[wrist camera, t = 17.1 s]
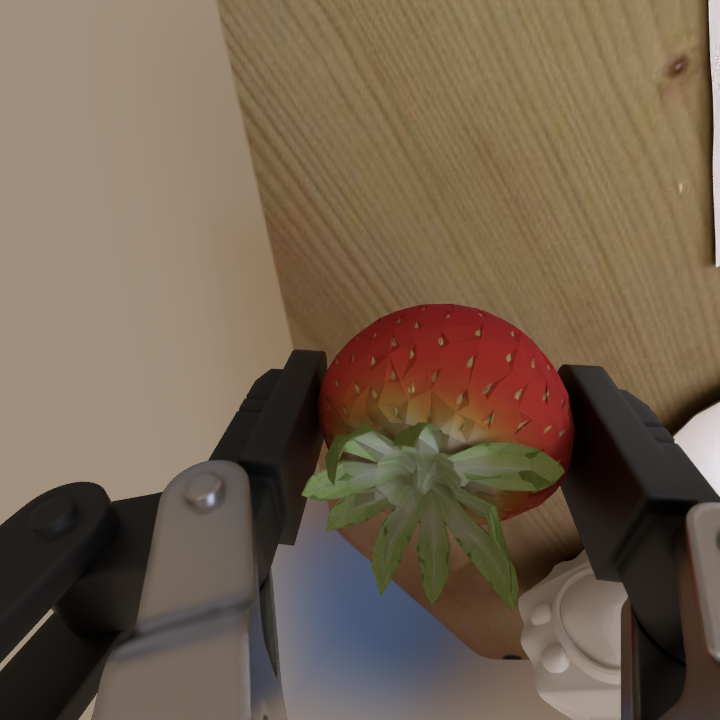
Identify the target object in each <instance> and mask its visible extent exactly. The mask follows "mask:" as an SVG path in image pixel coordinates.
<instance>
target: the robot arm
mask: <svg viewBox="0 0 720 720" xmlns="http://www.w3.org/2000/svg"><path fill="white" fill-rule="evenodd" d="M326 372H327V358H326V353H325V352H324V351H311V350H293V351H292V353H291V355H290V357H289V359H288V361H287V363H286V365H285V367H284V369H270V370H269V371H268V372H266V373H265V374H264V375H262V376H261V377H260V378H258V379H257V380H256V381H255V383H254V384H253V386H252V387H251V389H250V391H249V393H248V394H247V398H246V399H244V401H243V403H242V405H241V406H240V408H239V411H237V413H236V414H235V416H234V418H233V420H232V421H231V423H230V425H229V426H228V428H227V430H226V432H225V433H224V435H223V436H222V438H221V440H220V441H219V443H218V445H217V447H216V448H215V450H214V452H213V453H212V455H211V457H210V458H209V460H208V461H206V462H202V463H199V464H196V465H193V466H191V467H189V468H188V469H186V470H184V471H183V472H181V473H180V474H179V475H177V476H176V477H175V478H174V479H173V480H172V481H171V482H170V483H169V484H168V486H167V487H166V488H165V490H164V491H163V492H160V493H156V494H151V495H146V496H140V497H135V498H129V499H124V500H118V501H113V502H111V500H110V498H109V497H108V495H107V494H106V491H105V490H104V489H103V488H102V487H101V486H100V485H98V484H95V483H90V482H75V483H70V484H66V485H63V486H59V487H57V488H54V489H52V490H49V491H47V492H45V493H44V494H42V495H40V496H38V497H36V498H35V499H33V500H32V501H30V502H29V503H28V504H26V505H25V506H24V507H22V508H21V509H20V510H19V511H18V512H16V513H15V514H14V515H13V516H11V517H10V518H9V519H8V520H6V521H5V522H4V523H3V524H1V526H0V663H1V662H2V661H3V660H4V659H5V657H6V656H7V655H8V654H9V653H10V652H11V651H12V650H13V649H14V648H15V647H16V646H17V644H18V643H19V642H20V641H21V640H22V639H23V638H24V637H25V636H26V635H27V634H28V633H29V631H30V630H31V629H32V628H33V627H34V626H35V625H36V624H37V623H38V622H39V621H40V620H41V619H42V617H43V616H44V615H45V614H46V613H47V612H48V611H49V610H50V609H52V610H53V611H54V613H53V614H52V615H51V616H50V617H49V618H48V620H47V621H46V622H45V623H44V624H43V625H42V626H41V627H40V628H39V629H38V631H37V632H36V633H35V634H34V635H33V636H32V637H31V638H30V640H28V642H27V643H26V644H25V645H24V646H23V647H22V648H21V649H20V650H19V651H18V652H17V654H16V655H15V656H14V657H13V658H12V659H11V660H10V661H9V662H8V663H7V665H6V666H5V667H4V668H3V669H2V670H1V671H0V720H78V719H79V718H80V716H81V715H82V714H83V712H84V711H85V709H86V708H87V707H88V705H89V704H90V702H91V701H92V700H93V698H94V697H95V695H96V693H97V698H96V702H95V706H94V711H93V715H92V719H91V720H287V717H286V710H285V703H284V698H283V691H282V683H281V673H280V662H279V650H278V639H277V627H276V615H275V604H274V592H273V581H272V571H271V565H272V562H273V559H274V555H275V552H276V549H277V546H278V544H285V545H294V544H295V540H296V537H297V533H298V530H299V526H300V522H301V519H302V515H303V512H304V508H305V504H306V501H307V498H308V497H305V496H303V495H302V493H303V490H304V488H305V486H306V483H307V481H308V479H309V478H310V477H311V476H312V475H314V472H315V469H316V465H317V462H318V458H319V455H320V451H321V447H322V444H323V440H324V436H323V433H322V430H321V428H320V425H319V417H318V409H317V403H318V398H319V393H320V389H321V384H322V380H323V378H324V376H325V374H326ZM557 373H558V374H559V376H560V378H561V380H562V383H563V385H564V387H565V389H566V391H567V393H568V395H569V400H570V406H571V412H572V417H573V422H574V428H575V433H574V444H573V452H572V458H571V464H570V466H569V468H568V470H567V473H566V475H565V477H564V479H563V481H562V483H561V485H560V486H561V489H562V491H563V494H564V497H565V499H566V502H567V504H568V507H569V510H570V512H571V515H572V517H573V520H574V523H575V525H576V528H577V530H578V533H579V536H580V538H581V541H582V543H583V546H584V549H585V551H586V554H587V557H588V559H589V562H590V564H591V567H592V570H593V572H594V575H595V577H596V580H602V581H611V582H620V583H623V586H624V588H625V590H626V593H627V595H628V598H627V599H626V601H625V602H624V603H623V606H622V608H621V720H720V497H719V495H718V494H717V493H716V492H715V490H714V489H713V488H712V486H711V485H710V484H709V483H708V481H707V480H706V479H705V478H704V476H703V475H702V474H701V472H700V471H699V470H698V469H697V467H696V466H695V465H694V464H693V462H692V461H691V460H690V458H689V457H688V456H687V455H686V453H685V452H684V451H683V450H682V448H681V447H680V446H679V444H675V442H674V440H675V439H674V438H673V437H672V436H671V434H670V433H669V432H668V430H667V429H666V428H663V427H662V423H661V422H660V420H659V419H658V418H657V417H656V415H655V414H654V413H653V411H652V410H651V409H650V408H649V406H648V405H646V404H645V403H643V402H642V401H641V400H639V399H638V398H636V397H635V396H634V395H632V394H631V393H629V392H628V391H627V390H619V389H618V388H617V386H616V385H615V383H614V382H613V381H612V379H611V378H610V377H609V375H608V374H607V372H606V371H605V370H604V369H603V368H602V367H600V366H586V365H567V364H565V365H562V366H561V367H560V368H559V370H558V372H557Z"/></svg>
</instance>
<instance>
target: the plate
mask: <svg viewBox="0 0 720 720" xmlns="http://www.w3.org/2000/svg"><path fill="white" fill-rule="evenodd" d="M672 437H673V438H674V439H675V440H674V442H675V444H679V446H680V447H681V448H682V450H683V451H684V452H685V453H686V455H687V456H688V457H689V458H690V460H691V461H692V462H693V464H694V465H695V466H696V467H697V469H698V470H699V471H700V472H701V474H702V475H703V476H704V478H705V479H706V480H707V481H708V483H709V484H710V485H711V486H712V488H713V489H714V490H715V492H716V493H717V494H718V495H719V497H720V400H718V401H716V402H715V403H713V404H711V405H709V406H707V407H706V408H704V409H702V410H700V411H698V412H697V413H695V414H694V415H693V416H691V417H690V418H689V419H688V420H687V421H686V422H685V423H684V424H683V425H682V426H681V427H680V428H679V429H678V430H677V431H676V432H675V433H674V434H673V435H672Z"/></svg>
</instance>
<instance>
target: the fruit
mask: <svg viewBox="0 0 720 720" xmlns="http://www.w3.org/2000/svg"><path fill="white" fill-rule="evenodd" d="M317 409H318V417H319V425H320V428H321V430H322V433H323V436H324V439H325V442H326V445H327V448H328V452H327V454H326V456H325V460H326V467H327V469H325V470H322V471H320V472H318V473H316V474H314V475H312V476H311V477H310V478H309V479H308V481H307V483H306V486H305V488H304V490H303V493H302V495H303V496H305V497H308V498H310V499H314V500H319V501H322V500H329V499H335V498H341V497H343V498H342V499H341V500H340V501H339V502H338V503H337V504H336V505H335V506H334V507H332V509H331V511H330V514H329V516H328V522H327V531H330V530H333V529H338V528H342V527H346V526H350V525H354V524H357V523H360V522H363V521H366V520H368V519H370V518H371V517H373V516H375V515H376V514H378V513H379V512H381V511H383V512H385V513H388V514H389V516H388V517H387V518H386V520H385V521H384V523H383V524H382V527H381V529H380V531H379V534H378V536H377V538H376V541H375V543H374V550H373V559H372V571H373V573H374V576H375V579H376V582H377V585H378V587H379V591H380V593H381V595H382V594H383V592H384V591H385V589H386V587H387V585H388V584H389V582H390V580H391V578H392V577H393V575H394V573H395V571H396V569H397V567H398V565H399V563H400V561H401V559H402V557H403V555H404V552H405V550H406V548H407V545H408V543H409V541H410V539H411V536H412V534H413V532H414V530H415V528H416V526H417V524H418V523H420V526H419V534H418V543H417V554H418V560H419V565H420V571H421V577H422V582H423V586H424V590H425V593H426V596H427V598H428V601H429V603H430V606H431V605H432V604H433V603H434V602H435V601H436V599H437V598H438V596H439V595H440V593H441V592H442V590H443V589H444V586H445V583H446V581H447V578H448V575H449V572H450V542H449V538H448V533H447V529H446V525H447V526H448V527H449V529H450V531H451V532H452V534H453V536H454V538H455V539H456V540H457V542H458V543H459V544H460V546H461V547H462V549H463V550H464V551H465V553H466V554H467V556H468V557H469V558H470V559H471V561H472V562H473V563H474V565H475V566H476V567H477V568H478V570H479V571H480V572H481V573H482V575H483V576H484V577H485V579H486V580H487V581H488V582H489V584H490V585H491V586H492V587H493V589H494V590H495V591H496V592H497V594H498V595H499V596H500V598H501V599H502V600H503V601H504V603H505V604H506V605H507V606H508V608H509V609H510V610H511V611H513V609H514V608H515V606H516V601H517V594H518V587H519V584H518V580H517V576H516V571H515V567H514V564H513V563H512V561H511V560H510V559H509V557H508V553H507V549H506V545H505V541H504V537H503V533H502V529H501V525H500V521H503V520H507V519H509V518H511V517H514V516H516V515H518V514H521V513H523V512H525V511H528V510H530V509H532V508H534V507H537V506H539V505H541V504H542V503H543V502H544V501H545V500H546V499H548V498H549V497H550V496H551V495H552V494H553V493H554V492H555V491H556V490H557V489H558V487H559V486H560V485H561V483H562V481H563V479H564V477H565V475H566V473H567V470H568V468H569V466H570V464H571V458H572V452H573V444H574V433H575V428H574V422H573V417H572V412H571V406H570V400H569V395H568V393H567V391H566V389H565V387H564V385H563V383H562V380H561V378H560V376H559V374H558V373H557V371H556V370H555V368H554V366H553V365H552V363H551V362H550V361H549V360H548V358H547V357H546V356H545V355H544V353H543V352H542V351H541V350H540V349H539V348H538V347H537V345H536V344H535V343H534V342H533V341H532V340H531V339H530V338H529V337H528V336H527V335H526V334H525V333H523V332H522V331H521V330H519V329H518V328H516V327H515V326H513V325H511V324H510V323H508V322H506V321H505V320H503V319H501V318H498V317H496V316H494V315H492V314H490V313H488V312H485V311H483V310H480V309H477V308H471V307H466V306H460V305H455V304H429V305H418V306H414V307H411V308H407V309H403V310H400V311H396V312H394V313H391V314H389V315H386V316H384V317H382V318H379V319H378V320H377V321H375V322H374V323H372V324H371V325H370V326H368V327H367V328H366V329H364V330H363V331H361V332H360V333H359V334H357V335H356V336H355V337H354V338H353V339H351V340H350V341H349V342H348V343H347V344H346V345H345V346H344V348H343V349H342V350H341V351H340V352H339V354H338V355H337V356H336V358H335V359H334V361H333V362H332V363H331V365H330V367H329V368H328V370H327V372H326V374H325V376H324V378H323V380H322V384H321V389H320V393H319V398H318V403H317ZM481 524H487V525H488V530H489V533H487V532H486V531H485V530H484V529H483V528H482V527H481V526H480V525H481Z"/></svg>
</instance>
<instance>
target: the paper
mask: <svg viewBox="0 0 720 720" xmlns="http://www.w3.org/2000/svg"><path fill="white" fill-rule="evenodd" d="M708 1H709V36H710V62H711V76H712V90H713V114H714V143H713V195H714V215H715V238H716V267H719V266H720V0H708Z"/></svg>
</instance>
